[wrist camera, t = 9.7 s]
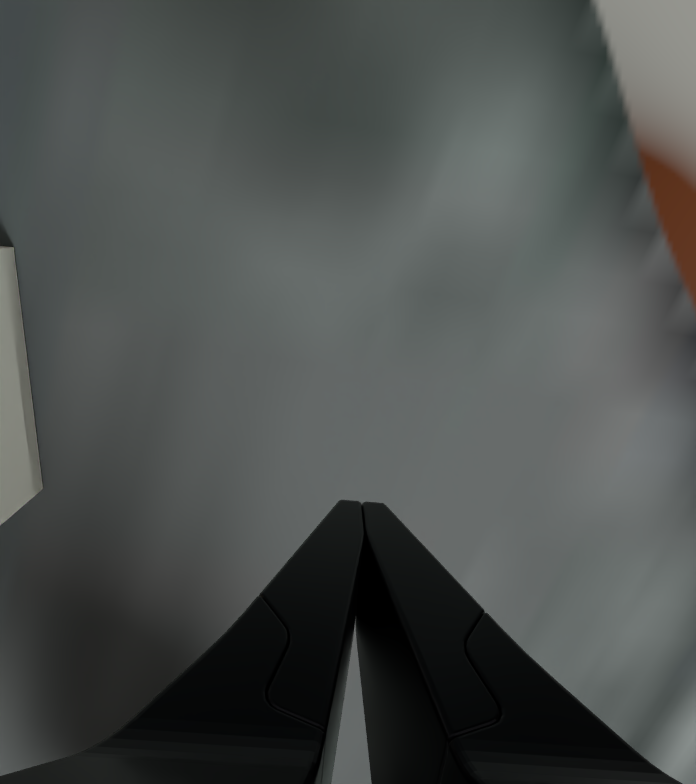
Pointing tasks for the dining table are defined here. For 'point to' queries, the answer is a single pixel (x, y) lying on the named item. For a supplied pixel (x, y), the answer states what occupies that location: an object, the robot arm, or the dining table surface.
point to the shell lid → (15, 400)
